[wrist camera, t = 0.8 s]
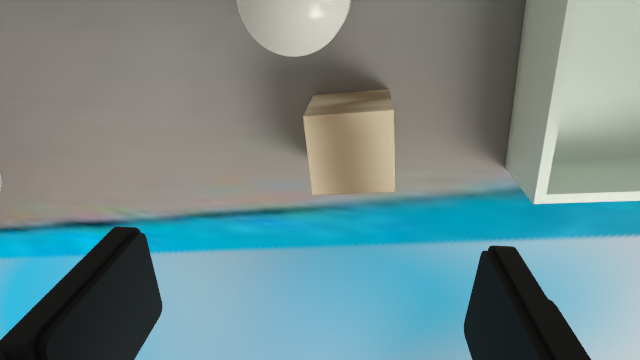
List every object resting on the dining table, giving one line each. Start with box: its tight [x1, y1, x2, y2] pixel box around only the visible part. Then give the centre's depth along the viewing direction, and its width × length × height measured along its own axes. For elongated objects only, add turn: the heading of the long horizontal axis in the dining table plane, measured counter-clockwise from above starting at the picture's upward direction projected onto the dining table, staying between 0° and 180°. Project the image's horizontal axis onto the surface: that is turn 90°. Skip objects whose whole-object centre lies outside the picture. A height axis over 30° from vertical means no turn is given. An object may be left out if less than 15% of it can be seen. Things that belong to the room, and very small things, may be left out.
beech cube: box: [303, 89, 395, 195], centre depth 24 cm, size 5×5×5 cm
